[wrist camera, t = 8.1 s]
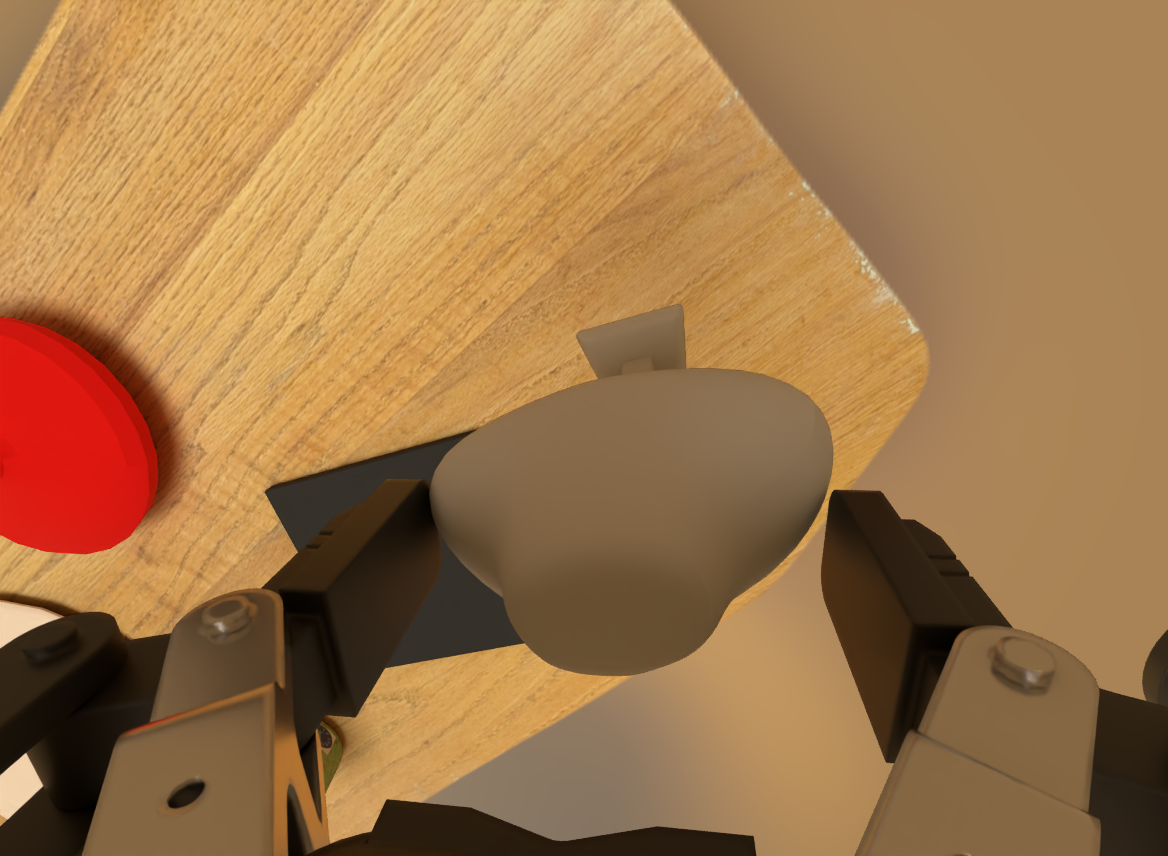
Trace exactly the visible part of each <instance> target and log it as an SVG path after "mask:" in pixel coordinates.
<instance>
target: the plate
mask: <svg viewBox="0 0 1168 856" xmlns="http://www.w3.org/2000/svg"><path fill="white" fill-rule="evenodd" d="M62 617H64V616H62V615H59V614H57V613H54V612H52V611H49V610H47V609H44V608H41V607H35V606H30V605H25V604H20V603H14V602H9V601H4V600H0V648H1V647H3V646H4V645H6V644H7V643H9V642H10V641H12V640H13V639H15V638H17V637H18V636H20V635H22V634H24V633H26V632H27V631H29V630H31V629H34V628H36V627H38V626H40V625H43V624H45V623H48V622H50V621H53V620H56V619H59V618H62ZM42 787H43V785H42V783H41V781H40V779H39V777H38V775H37V773H36V771H35V769H34V767H33V765H32V763H31V761H30V760H29V758H28V756H27V754H26V753H25V754H24V755H23V756H22V757H21V758H20V759H19V760H17V761H16V762H15V763H14V764H13V765H12V766H10V767H9V768H8V769H7V770H6V771H5V772H4V773H2V774H1V775H0V815H1V816H3V817H5V818H6V819H9V818H10V817H11V816H12V815H13V814H14V813H15V812H16V811H17V810H18V809H19V808H20V807H21V806H23V805H24V804H25V803H26V802H27V801H28V800H29V799H30V798H31V797H32V796H33V795H34V794H35V793H36V792H37V791H38V790H39V789H40V788H42Z"/></svg>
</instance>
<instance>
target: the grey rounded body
mask: <svg viewBox="0 0 1168 856" xmlns="http://www.w3.org/2000/svg"><path fill="white" fill-rule="evenodd" d="M576 337H577V340H578V342H579V344H580V346H581V348H582V349H583V351H584V353H585V355H586V357H587V359H588V361H589V363H590V365H591V366H592V368H593V370H594V372H595V374H596V376H597V378H598V379H597V380H592V381H589V382H585V383H582V384H579V385H575V386H572V387H569V388H567V389H564V390H561V391H558V392H555V393H553V394H550V395H548V396H545V397H543V398H540V399H538V400H535V401H533V402H531V403H528V404H526V405H524V406H522V407H519V408H517V409H515V410H513V411H511V412H509V413H507V414H505V415H503V416H501V417H499V418H497V419H495V420H493V421H491V422H490V423H488V424H486V425H484V426H482V427H481V428H479V429H477V430H476V431H474V432H473V433H471V434H470V435H468V436H467V437H465V438H464V439H462V440H461V441H460V442H459V443H458V444H457V445H455V446H454V447H453V448H452V449H451V450H450V451H449V452H448V453H447V454H446V455H445V456H444V458H443V459H442V461H441V462H440V464H439V465H438V467H437V469H436V470H435V473H434V476H433V479H432V482H431V486H430V490H429V497H430V505H431V512H432V516H433V519H434V522H435V525H436V527H437V529H438V531H439V532H440V534H441V536H442V538H443V539H444V541H445V543H446V544H447V546H448V547H449V548H450V549H451V551H452V552H453V553H454V554H455V555H456V557H457V558H458V559H459V560H460V562H461V563H462V564H463V565H464V566H465V567H466V568H467V569H468V570H469V571H470V572H472V573H473V574H474V575H475V576H476V577H477V578H478V579H479V580H480V581H481V582H483V583H484V584H485V585H486V586H487V587H489V588H490V589H491V590H493V591H494V592H496V593H497V594H498V595H500V596H501V597H502V598H503V600H504V604H505V608H506V611H507V614H508V617H509V619H510V622H511V623H512V625H513V627H514V629H515V631H516V632H517V634H518V635H519V636H520V638H521V639H522V640H523V642H524V643H525V644H526V645H527V646H528V647H529V648H530V649H531V650H532V651H533V652H534V653H535V654H536V655H538V656H539V657H540V658H541V659H542V660H544V661H546V662H547V663H549V664H550V665H553V666H555V667H557V668H560V669H563V670H567V671H571V672H575V673H580V674H587V675H601V676H629V675H636V674H641V673H645V672H648V671H651V670H654V669H657V668H660V667H663V666H666V665H669V664H671V663H674V662H677V661H679V660H681V659H683V658H685V657H687V656H689V655H690V654H692V653H693V652H694V651H696V650H697V649H698V648H699V647H700V646H702V645H703V644H704V643H705V642H706V640H707V639H708V638H709V637H710V636H711V634H712V633H713V631H714V630H715V628H716V627H717V625H718V623H719V621H720V619H721V617H722V615H723V614H724V612H725V610H726V608H727V607H728V605H729V604H730V602H731V601H732V600H733V599H734V598H736V597H737V596H739V595H740V594H742V593H743V592H745V591H746V590H748V589H749V588H751V587H752V586H753V585H755V584H756V583H758V582H759V581H760V580H762V579H763V578H764V577H766V576H767V575H768V574H770V573H771V572H772V571H773V570H774V569H775V568H776V567H777V566H778V565H779V564H780V563H781V562H782V561H783V560H784V559H785V558H786V557H787V556H788V555H789V554H790V553H791V552H792V551H793V550H794V549H795V548H796V547H797V545H798V544H799V543H800V541H801V540H802V538H803V537H804V536H805V534H806V533H807V532H808V530H809V528H810V527H811V525H812V523H813V522H814V520H815V518H816V517H817V515H818V513H819V511H820V509H821V506H822V504H823V501H824V499H825V496H826V493H827V489H828V486H829V482H830V478H831V473H832V465H833V443H832V437H831V432H830V428H829V425H828V423H827V421H826V419H825V417H824V415H823V413H822V411H821V409H820V408H819V407H818V406H817V405H816V404H815V403H814V402H813V401H812V399H811V398H810V397H809V396H808V395H806V394H805V393H803V392H802V391H800V390H798V389H797V388H795V387H793V386H792V385H790V384H788V383H786V382H783V381H781V380H778V379H775V378H772V377H769V376H767V375H764V374H758V373H753V372H747V371H741V370H730V369H716V368H690V369H686V350H685V330H684V311H683V306H682V305H681V304H676V305H672V306H668V307H665V308H661V309H657V310H654V311H650V312H646V313H643V314H639V315H636V316H632V317H628V318H625V319H621V320H618V321H614V322H611V323H607V324H604V325H600V326H596V327H593V328H589V329H586V330H582V331H580V332H578V333H577V334H576Z"/></svg>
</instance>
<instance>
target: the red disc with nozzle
mask: <svg viewBox="0 0 1168 856" xmlns="http://www.w3.org/2000/svg"><path fill="white" fill-rule="evenodd" d="M157 486H158V464H157V453H156V450H155V447H154V444H153V441H152V438H151V435H150V431H149V428H148V425H147V423H146V422H145V420H144V418H143V416H142V415H141V413H140V411H139V409H138V408H137V406H136V404H135V402H134V401H133V399H132V397H131V395H130V394H129V393H128V392H127V391H126V389H125V388H124V387H123V386H122V385H121V384H120V382H119V381H118V380H117V379H116V378H115V377H114V375H113V374H112V373H111V372H110V371H109V370H108V368H107V367H106V366H104V365H103V364H102V363H101V362H99V361H98V360H97V359H96V358H94V357H93V356H92V355H91V354H90V353H88V352H87V351H86V350H85V349H83V348H82V347H81V346H80V345H78V344H77V343H75V342H73V341H71V340H69V339H67V338H66V337H64V336H62V335H60V334H58V333H56V332H54V331H52V330H50V329H49V328H47V327H44V326H40V325H36V324H33V323H29V322H25V321H22V320H18V319H14V318H5V317H0V535H2V536H4V537H6V538H7V539H9V540H11V541H13V542H15V543H17V544H21V545H24V546H28V547H31V548H35V549H38V550H42V551H45V552H56V553H72V554H90V553H94V552H98V551H103V550H107V549H111V548H112V547H114V546H115V545H117V544H119V543H120V542H122V541H123V540H125V539H126V538H128V537H130V536H131V534H132V533H133V532H134V530H135V529H136V528H137V526H138V525H139V524H140V522H141V521H142V519H143V518H144V517H145V515H146V514H147V512H148V511H149V510H150V508H151V507H152V505H153V502H154V498H155V494H156V490H157Z"/></svg>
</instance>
